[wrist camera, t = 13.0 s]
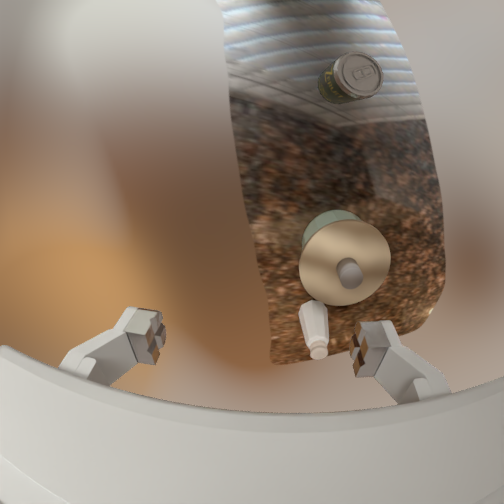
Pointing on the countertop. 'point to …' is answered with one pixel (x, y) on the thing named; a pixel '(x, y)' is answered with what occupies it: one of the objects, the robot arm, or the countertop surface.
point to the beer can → (351, 78)
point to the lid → (344, 262)
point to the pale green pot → (325, 222)
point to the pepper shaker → (315, 328)
